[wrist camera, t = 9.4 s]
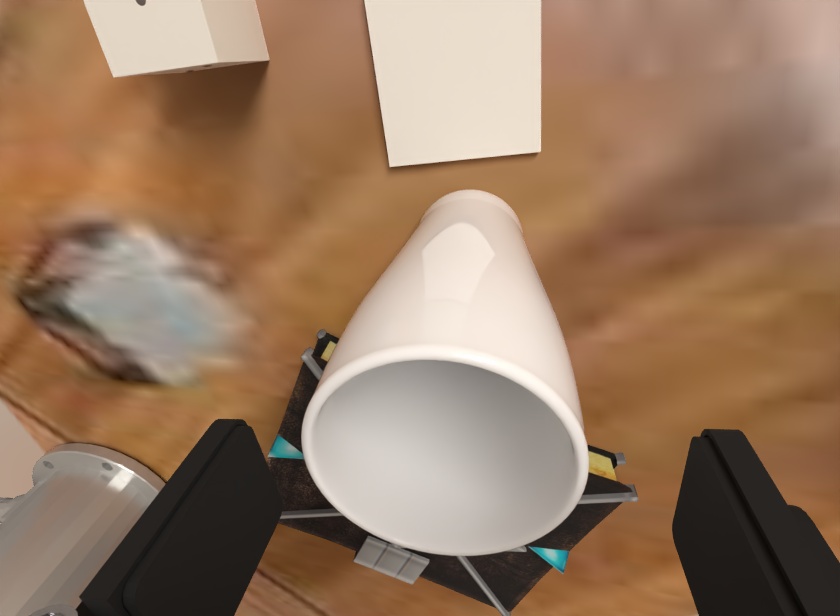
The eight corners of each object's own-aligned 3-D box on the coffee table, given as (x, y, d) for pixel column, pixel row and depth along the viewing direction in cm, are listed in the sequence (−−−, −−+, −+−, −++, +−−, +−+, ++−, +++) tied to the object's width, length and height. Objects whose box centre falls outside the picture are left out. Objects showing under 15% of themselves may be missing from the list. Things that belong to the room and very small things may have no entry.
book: (262, 481, 36) (230, 539, 32) (318, 318, 28) (286, 367, 23) (507, 577, 38) (509, 644, 33) (631, 450, 29) (655, 519, 25)
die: (182, 73, 21) (111, 79, 18) (142, -46, 19) (53, -71, 15) (270, 61, 21) (218, 64, 17) (240, -65, 18) (171, -96, 15)
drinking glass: (407, 164, 22) (281, 326, 9) (549, 177, 21) (635, 371, 8) (402, 289, 25) (305, 536, 12) (525, 303, 25) (558, 580, 12)
